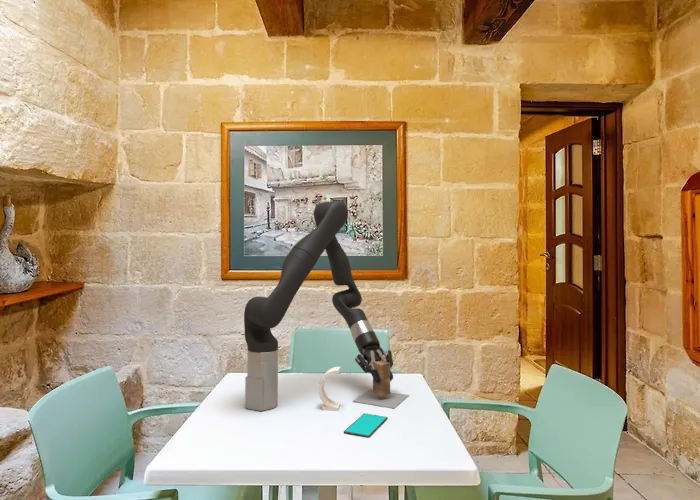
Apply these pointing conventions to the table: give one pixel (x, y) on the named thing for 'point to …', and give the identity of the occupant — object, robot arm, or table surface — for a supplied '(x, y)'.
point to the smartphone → (365, 425)
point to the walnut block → (382, 378)
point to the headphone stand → (325, 399)
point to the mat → (381, 399)
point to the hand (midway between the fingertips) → (385, 380)
